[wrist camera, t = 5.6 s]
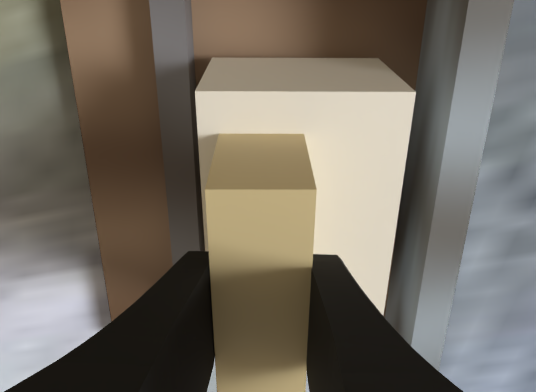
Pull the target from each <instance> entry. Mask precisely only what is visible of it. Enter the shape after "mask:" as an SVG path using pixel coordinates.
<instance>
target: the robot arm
mask: <svg viewBox="0 0 536 392" xmlns="http://www.w3.org/2000/svg"><path fill="white" fill-rule="evenodd" d="M214 358H215V348H214V332H213V315H212V299H211V282H210V266H209V251H188V252H187V253H186V254H185V255H183V256H182V257H181V258H180V259H179V260H178V261H177V262H176V263H175V264H174V265H173V266H172V267H171V268H170V269H169V270H168V271H167V272H166V273H165V274H164V275H163V276H162V277H161V278H160V279H159V280H158V281H157V282H156V283H155V284H154V285H153V286H152V287H151V288H149V289H148V290H147V291H146V292H145V293H144V294H143V295H142V296H141V297H140V298H139V299H138V300H136V301H135V302H134V303H133V304H132V305H131V306H130V307H129V308H127V309H126V310H125V311H124V312H123V313H121V314H120V315H119V316H118V317H117V318H115V319H114V320H113V321H112V322H111V323H109V324H108V325H107V326H106V327H104V328H103V329H102V330H100V331H99V332H98V333H96V334H95V335H94V336H92V337H91V338H90V339H88V340H87V341H85V342H84V343H82V344H81V345H80V346H78V347H77V348H75V349H74V350H72V351H71V352H69V353H68V354H66V355H65V356H63V357H62V358H60V359H59V360H57V361H56V362H54V363H52V364H51V365H49V366H47V367H45V368H44V369H42V370H40V371H39V372H37V373H35V374H34V375H32V376H30V377H28V378H27V379H25V380H23V381H22V382H20V383H18V384H17V385H15V386H13V387H12V388H10V389H8V390H6V391H4V392H207V388H208V385H209V381H210V377H211V373H212V369H213V364H214ZM306 365H307V376H308V384H309V391H310V392H463V391H462V390H461V389H459V388H458V387H457V386H455V385H454V384H453V383H452V382H450V381H449V380H448V379H447V378H446V377H444V376H443V375H442V374H441V373H440V372H439V371H437V370H436V369H435V368H434V367H433V366H432V365H431V364H430V363H429V362H427V361H426V360H425V359H424V358H423V357H422V356H421V355H420V354H419V353H417V352H416V351H415V350H414V349H413V348H412V347H411V346H410V345H409V344H408V343H407V342H406V340H405V339H404V338H403V337H402V336H401V335H400V334H399V333H398V332H397V331H396V330H395V329H394V328H393V327H392V325H391V324H390V323H389V322H388V321H387V320H386V319H385V317H384V316H383V315H382V314H381V313H380V311H379V310H378V309H377V308H376V306H375V305H374V304H373V303H372V302H371V300H370V299H369V298H368V297H367V295H366V294H365V293H364V291H363V290H362V289H361V287H360V286H359V285H358V283H357V282H356V280H355V279H354V278H353V276H352V275H351V273H350V272H349V270H348V269H347V267H346V266H345V264H344V263H343V261H342V259H341V258H340V257H339V256H338V255H327V254H313V264H312V270H311V288H310V306H309V323H308V341H307V359H306Z"/></svg>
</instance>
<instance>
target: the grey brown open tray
mask: <svg viewBox="0 0 536 392" xmlns="http://www.w3.org/2000/svg"><path fill="white" fill-rule="evenodd" d="M513 3H514V0H60V4H61V10H62V16H63V22H64V29H65V35H66V41H67V47H68V53H69V60H70V66H71V72H72V78H73V85H74V91H75V97H76V103H77V109H78V116H79V122H80V128H81V134H82V141H83V147H84V153H85V159H86V165H87V172H88V178H89V184H90V190H91V196H92V203H93V209H94V215H95V221H96V228H97V234H98V240H99V246H100V252H101V259H102V265H103V271H104V277H105V284H106V290H107V296H108V302H109V308H110V315H111V321H113V320H114V319H115V318H117V317H118V316H119V315H120V314H121V313H123V312H124V311H125V310H126V309H127V308H129V307H130V306H131V305H132V304H133V303H134V302H135V301H136V300H138V299H139V298H140V297H141V296H142V295H143V294H144V293H145V292H146V291H147V290H148V289H149V288H151V287H152V286H153V285H154V284H155V283H156V282H157V281H158V280H159V279H160V278H161V277H162V276H163V275H164V274H165V273H166V272H167V271H168V270H169V269H170V268H171V267H172V266H173V265H174V264H175V263H176V262H177V261H178V260H179V259H180V258H181V257H182V256H183V255H185V254H186V253H187V252H188V251H205V240H204V225H203V209H202V194H201V178H200V163H199V147H198V132H197V116H196V101H195V90H196V88H197V86H198V84H199V82H200V80H201V78H202V76H203V74H204V72H205V70H206V68H207V66H208V64H209V63H210V61H211V59H212V57H218V58H379V59H380V60H381V61H382V62H383V63H384V64H385V65H387V66H388V67H389V68H390V69H391V70H392V71H393V72H394V73H395V74H397V75H398V76H399V77H400V78H401V79H402V80H403V81H404V82H406V83H407V84H408V85H409V86H410V87H411V88H412V89H413V90H415V91H416V96H415V103H414V110H413V117H412V124H411V130H410V137H409V144H408V151H407V158H406V165H405V171H404V178H403V185H402V192H401V199H400V206H399V212H398V219H397V226H396V233H395V240H394V247H393V253H392V260H391V267H390V274H389V281H388V288H387V294H386V301H385V308H384V315H383V316H384V317H385V319H386V320H387V321H388V322H389V323H390V324H391V325H392V327H393V328H394V329H395V330H396V331H397V332H398V333H399V334H400V335H401V336H402V337H403V338H404V339H405V340H406V342H407V343H408V344H409V345H410V346H411V347H412V348H413V349H414V350H415V351H416V352H417V353H419V354H420V355H421V356H422V357H423V358H424V359H425V360H426V361H427V362H429V363H430V364H431V365H432V366H433V367H434V368H435V369H436V370H437V371H439V367H440V362H441V357H442V352H443V347H444V342H445V337H446V332H447V327H448V322H449V317H450V312H451V308H452V303H453V298H454V293H455V288H456V283H457V278H458V273H459V268H460V263H461V258H462V253H463V249H464V244H465V239H466V234H467V229H468V224H469V219H470V214H471V209H472V204H473V199H474V195H475V190H476V185H477V180H478V175H479V170H480V165H481V160H482V155H483V150H484V145H485V140H486V136H487V131H488V126H489V121H490V116H491V111H492V106H493V101H494V96H495V91H496V86H497V81H498V77H499V72H500V67H501V62H502V57H503V52H504V47H505V42H506V37H507V32H508V27H509V22H510V18H511V13H512V8H513Z"/></svg>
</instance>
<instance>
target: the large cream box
mask: <svg viewBox="0 0 536 392" xmlns="http://www.w3.org/2000/svg"><path fill="white" fill-rule="evenodd" d="M415 96H416V91H415V90H413V89H412V88H411V87H410V86H409V85H408V84H407V83H406V82H404V81H403V80H402V79H401V78H400V77H399V76H398V75H397V74H395V73H394V72H393V71H392V70H391V69H390V68H389V67H388V66H387V65H385V64H384V63H383V62H382V61H381V60H380V59H379V58H218V57H212V59H211V61H210V63H209V64H208V66H207V68H206V70H205V72H204V74H203V76H202V78H201V80H200V82H199V84H198V86H197V88H196V90H195V101H196V116H197V132H198V147H199V163H200V178H201V194H202V209H203V225H204V240H205V251H209V266H210V282H211V299H212V315H213V332H214V348H215V365H216V381H217V392H305V387H306V370H307V365H306V359H307V341H308V323H309V306H310V288H311V270H312V264H313V254H327V255H338V256H339V257H340V258H341V259H342V261H343V263H344V264H345V266H346V267H347V269H348V270H349V272H350V273H351V275H352V276H353V278H354V279H355V280H356V282H357V283H358V285H359V286H360V287H361V289H362V290H363V291H364V293H365V294H366V295H367V297H368V298H369V299H370V300H371V302H372V303H373V304H374V305H375V306H376V308H377V309H378V310H379V311H380V313H381V314H382V315H384V308H385V301H386V294H387V288H388V281H389V274H390V267H391V260H392V253H393V247H394V240H395V233H396V226H397V219H398V212H399V206H400V199H401V192H402V185H403V178H404V171H405V165H406V158H407V151H408V144H409V137H410V130H411V124H412V117H413V110H414V103H415Z"/></svg>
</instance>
